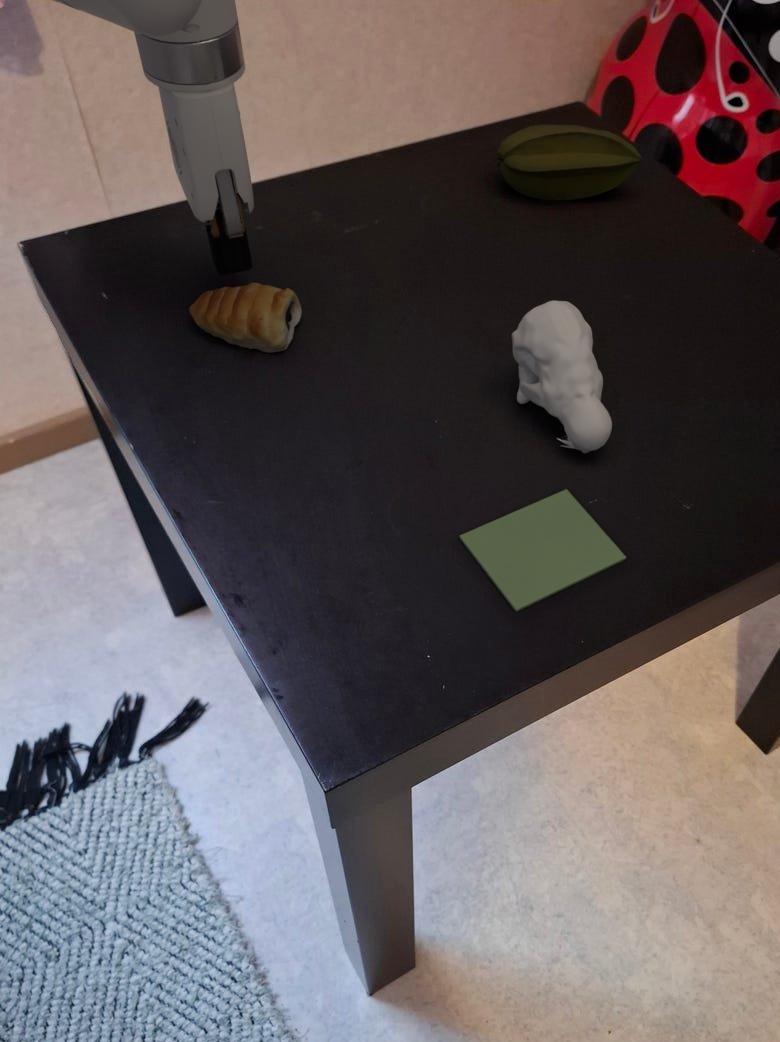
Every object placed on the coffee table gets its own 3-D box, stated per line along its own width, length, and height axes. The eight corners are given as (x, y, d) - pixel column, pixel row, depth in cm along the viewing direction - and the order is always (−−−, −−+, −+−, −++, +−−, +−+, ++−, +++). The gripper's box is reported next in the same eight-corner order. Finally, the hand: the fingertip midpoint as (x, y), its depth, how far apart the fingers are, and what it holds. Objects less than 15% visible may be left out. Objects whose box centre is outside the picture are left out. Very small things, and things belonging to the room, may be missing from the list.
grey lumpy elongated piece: (582, 281, 74) (650, 386, 69) (563, 360, 81) (624, 460, 76) (511, 297, 72) (575, 406, 67) (499, 376, 79) (556, 479, 74)
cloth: (515, 612, 66) (516, 609, 65) (459, 538, 69) (459, 535, 69) (625, 559, 69) (626, 557, 69) (566, 491, 73) (566, 488, 72)
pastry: (183, 343, 80) (174, 306, 77) (207, 297, 84) (198, 260, 81) (288, 358, 80) (283, 320, 76) (307, 311, 83) (302, 273, 80)
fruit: (556, 151, 101) (564, 88, 96) (638, 197, 97) (652, 135, 92) (484, 187, 96) (488, 123, 91) (567, 238, 92) (577, 174, 87)
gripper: (120, 9, 70) (174, 229, 86) (161, 103, 63) (212, 326, 78) (216, -2, 72) (252, 215, 87) (267, 88, 65) (297, 308, 80)
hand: (233, 267), depth 83 cm, fingers closed
